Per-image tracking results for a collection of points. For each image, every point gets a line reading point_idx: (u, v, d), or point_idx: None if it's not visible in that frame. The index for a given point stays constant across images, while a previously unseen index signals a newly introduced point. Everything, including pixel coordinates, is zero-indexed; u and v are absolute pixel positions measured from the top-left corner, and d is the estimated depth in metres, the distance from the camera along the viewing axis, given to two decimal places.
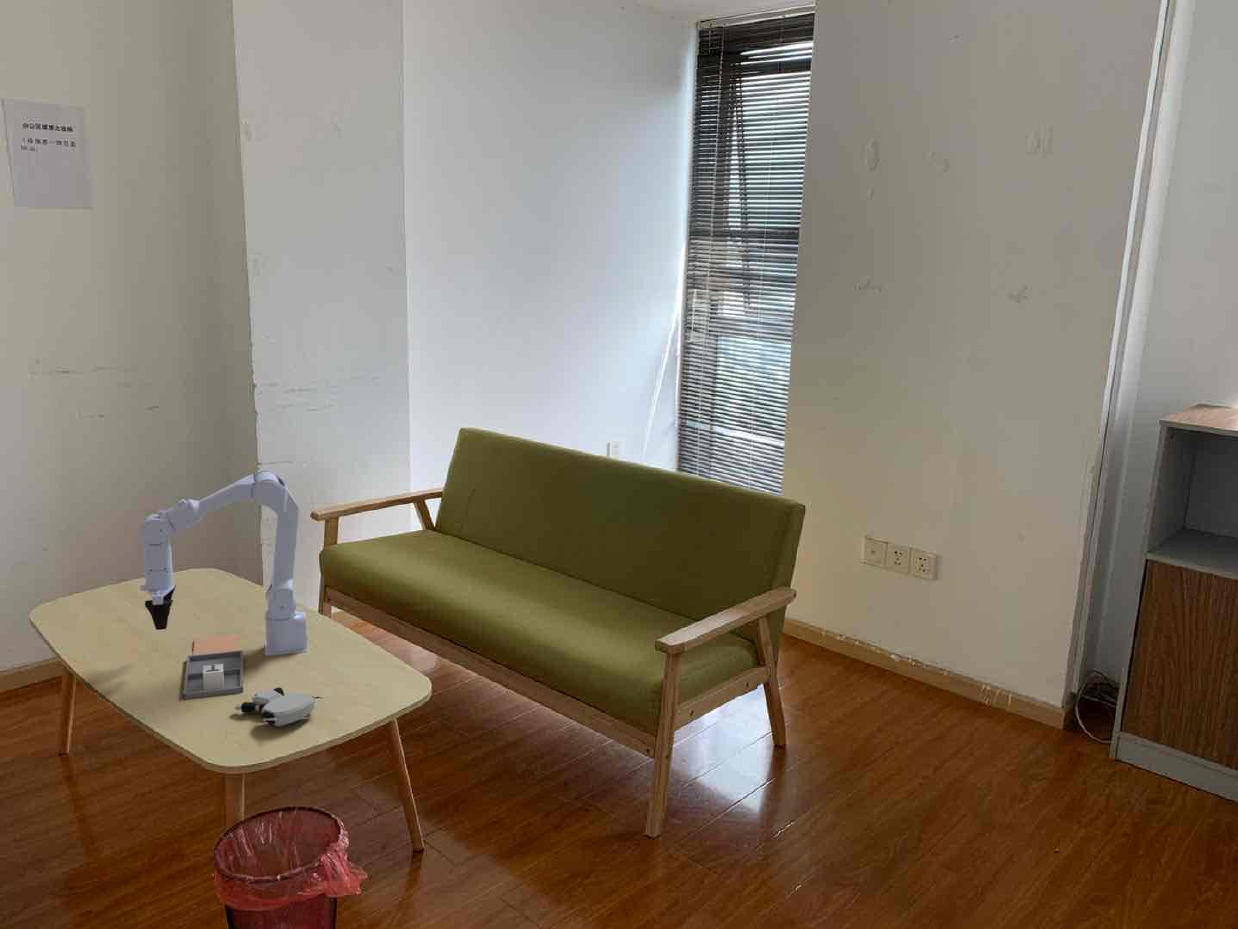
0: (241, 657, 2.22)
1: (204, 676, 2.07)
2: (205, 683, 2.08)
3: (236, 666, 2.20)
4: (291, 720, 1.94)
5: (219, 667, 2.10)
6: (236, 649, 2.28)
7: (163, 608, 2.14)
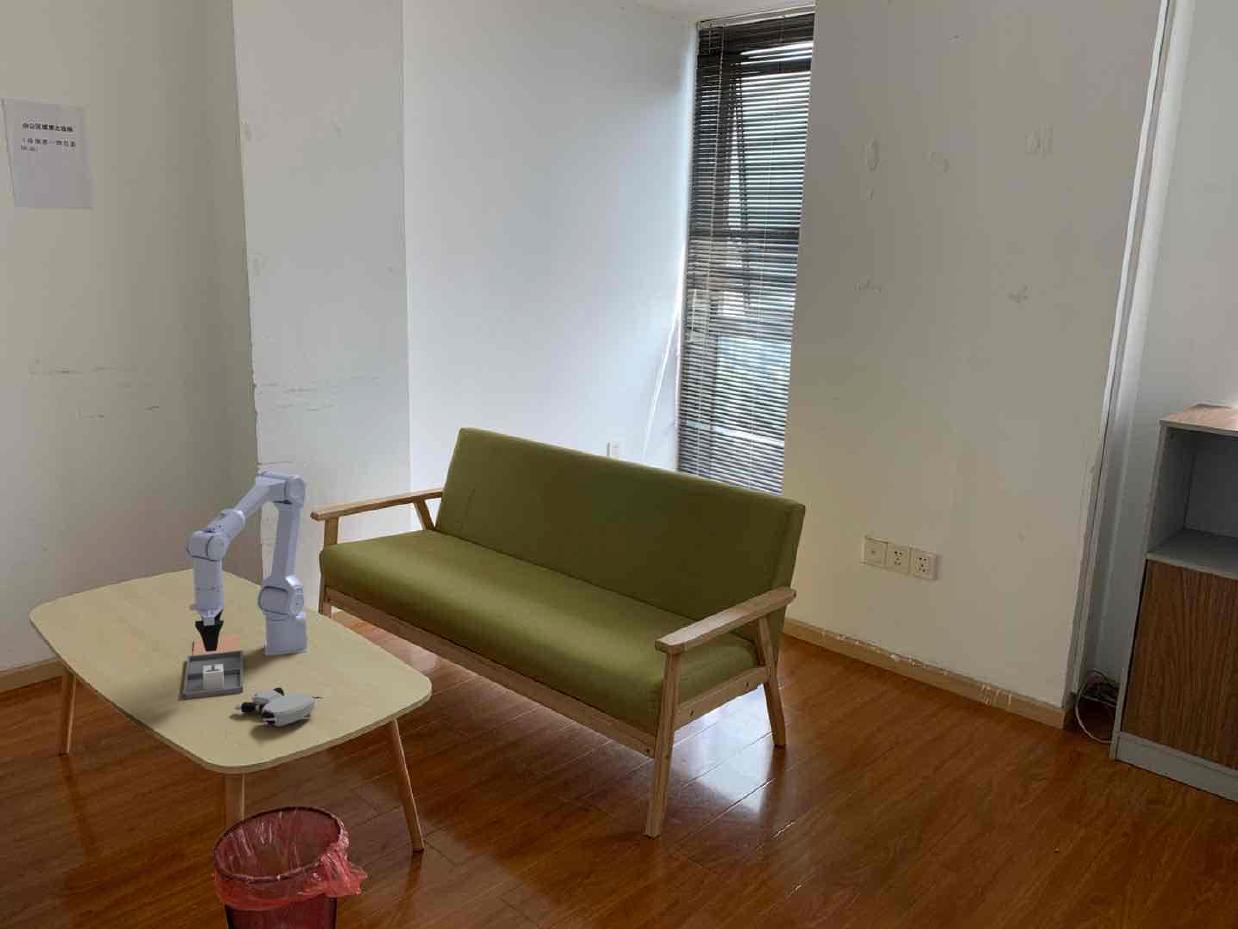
0: (241, 657, 2.22)
1: (204, 676, 2.07)
2: (205, 683, 2.08)
3: (236, 666, 2.20)
4: (291, 720, 1.94)
5: (219, 667, 2.10)
6: (236, 649, 2.28)
7: (213, 629, 2.03)
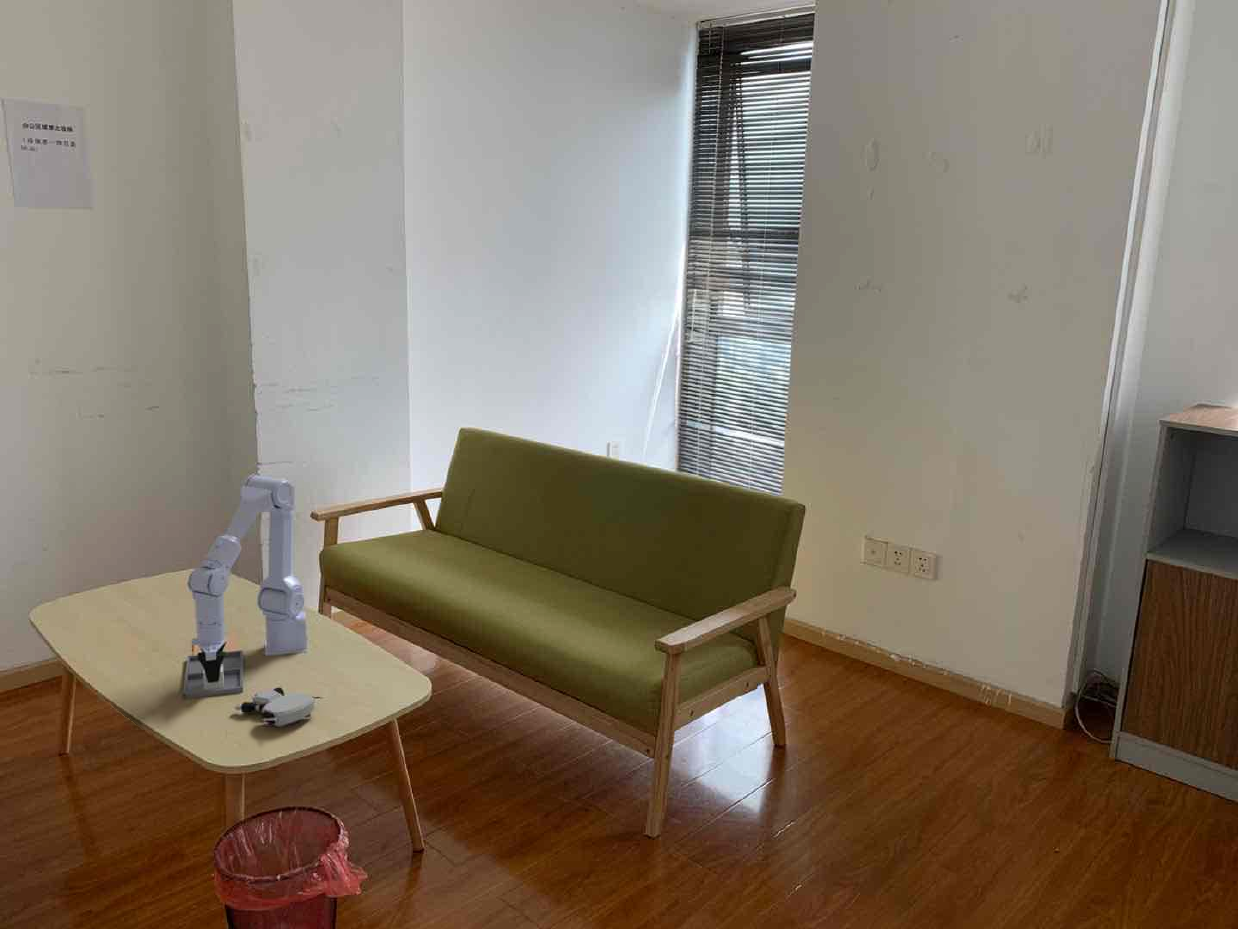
0: (241, 657, 2.22)
1: (204, 676, 2.07)
2: (205, 683, 2.08)
3: (236, 666, 2.20)
4: (291, 720, 1.94)
5: None
6: (236, 649, 2.28)
7: (216, 660, 2.07)
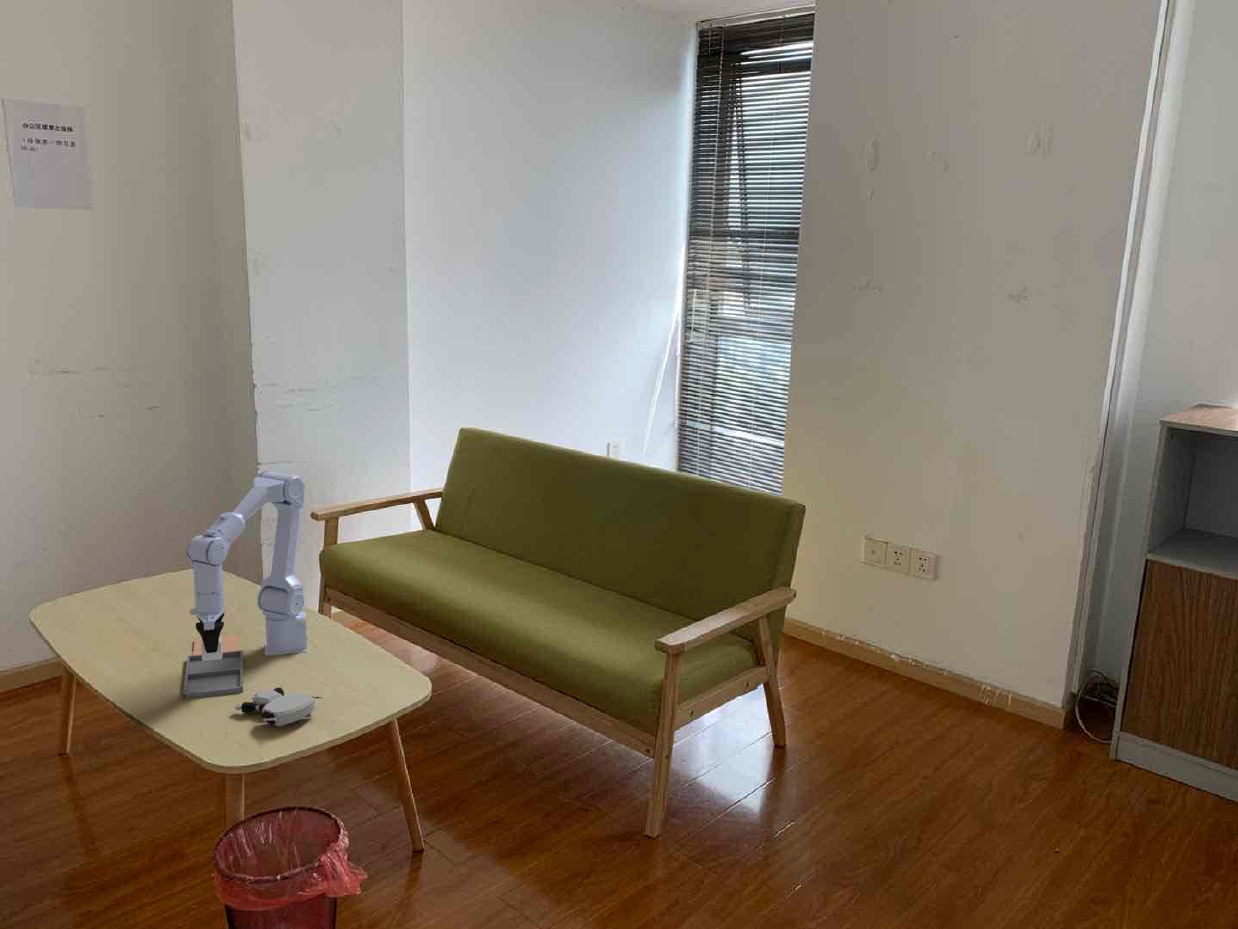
0: (241, 657, 2.22)
1: (202, 646, 2.06)
2: (203, 654, 2.06)
3: (236, 666, 2.20)
4: (291, 720, 1.94)
5: None
6: (236, 649, 2.28)
7: (214, 630, 2.05)
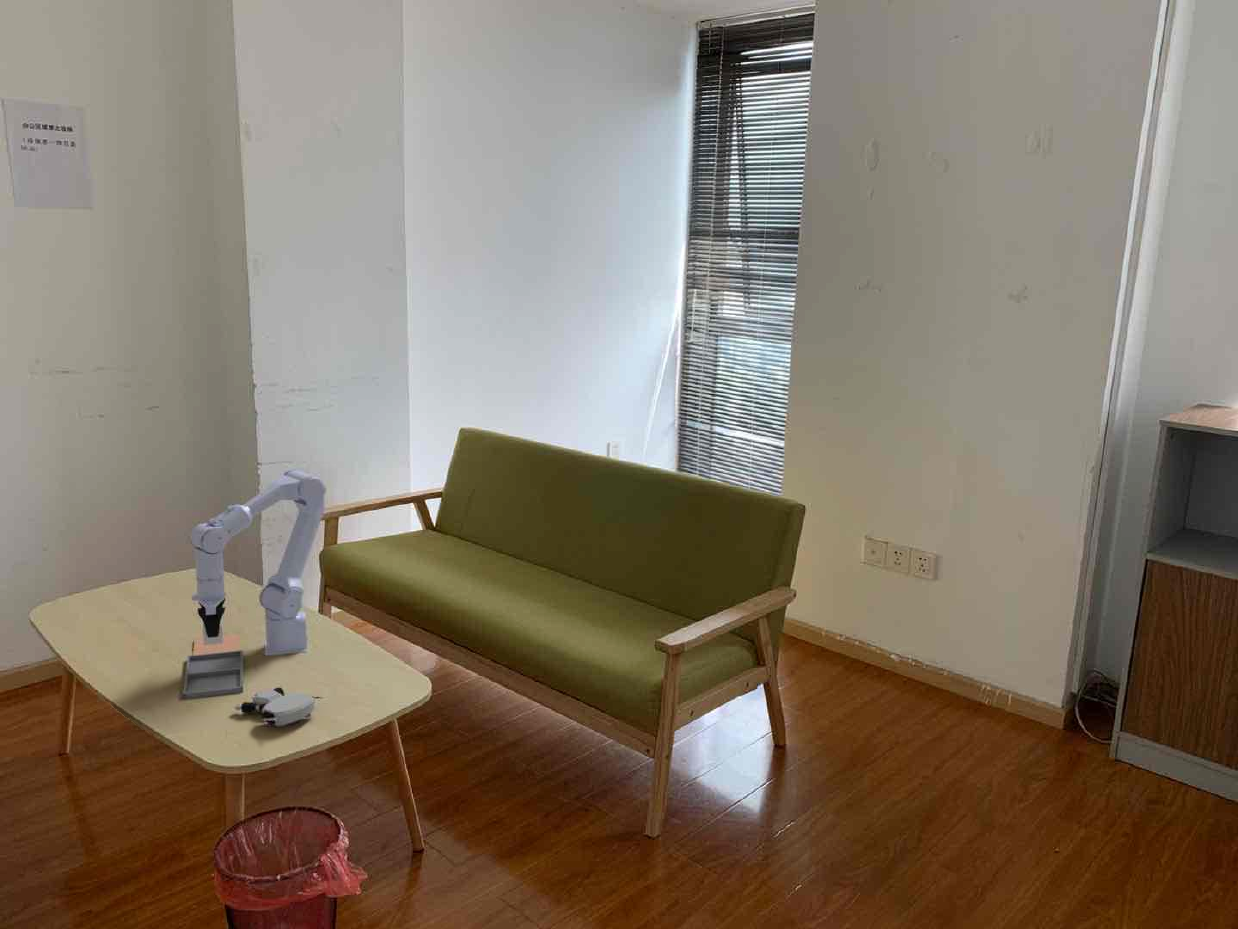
0: (241, 657, 2.22)
1: (204, 631, 2.14)
2: (205, 638, 2.14)
3: (236, 666, 2.20)
4: (291, 720, 1.94)
5: None
6: (236, 649, 2.28)
7: (215, 616, 2.13)
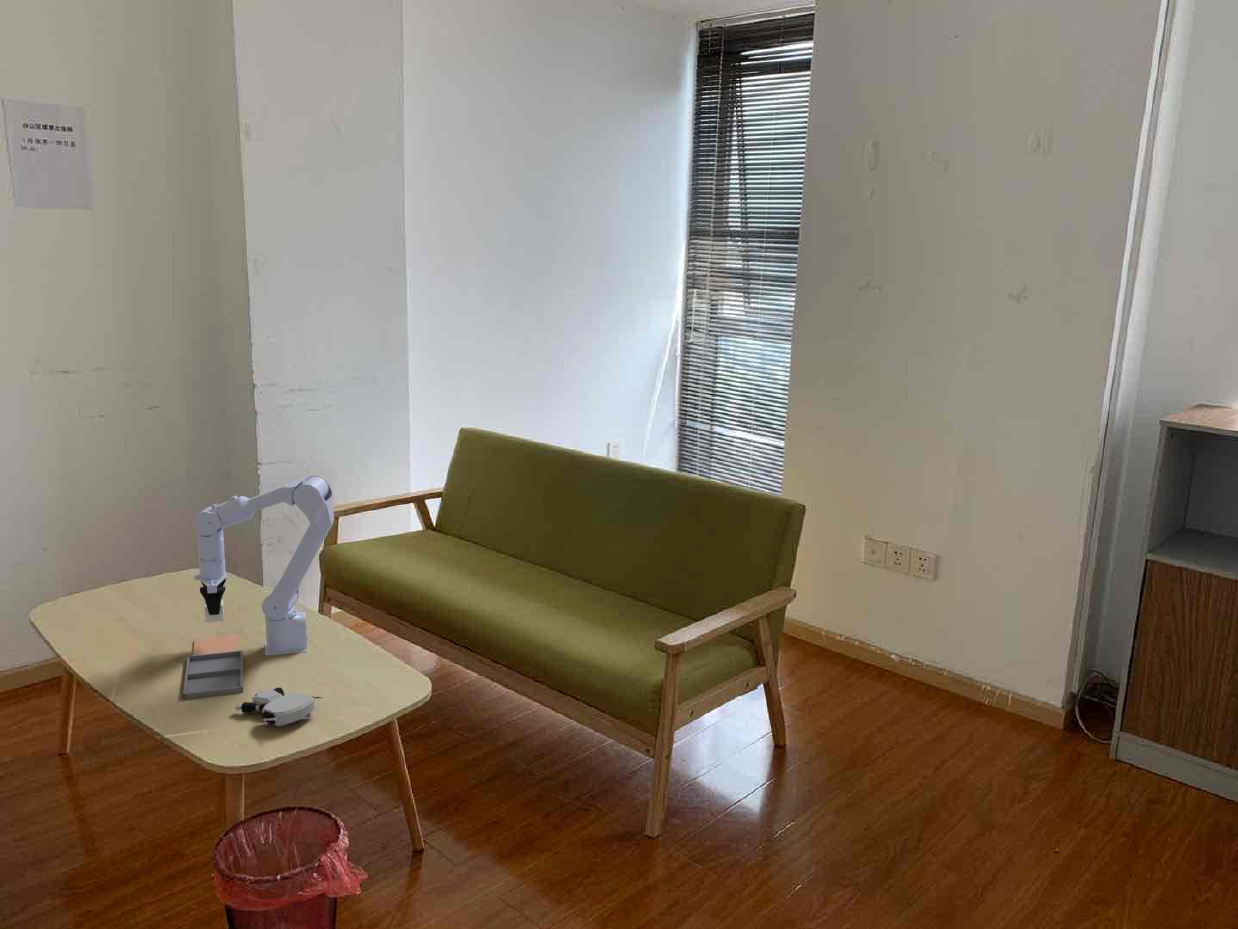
0: (241, 657, 2.22)
1: (206, 609, 2.26)
2: (206, 616, 2.26)
3: (236, 666, 2.20)
4: (291, 720, 1.94)
5: None
6: (236, 649, 2.28)
7: (216, 594, 2.25)
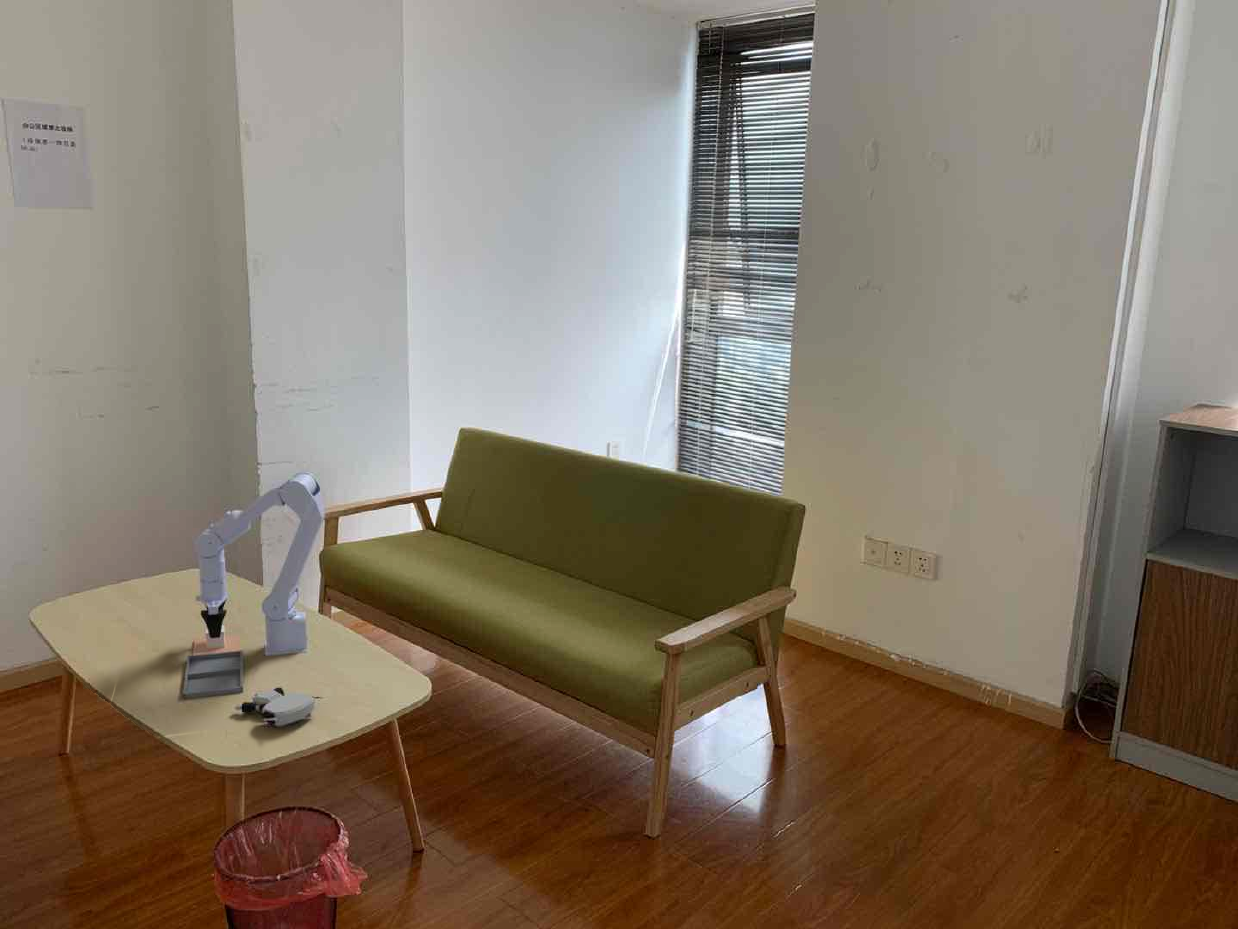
0: (241, 657, 2.22)
1: (207, 635, 2.27)
2: (208, 642, 2.28)
3: (236, 666, 2.20)
4: (291, 720, 1.94)
5: (221, 628, 2.30)
6: (236, 649, 2.28)
7: (217, 618, 2.25)
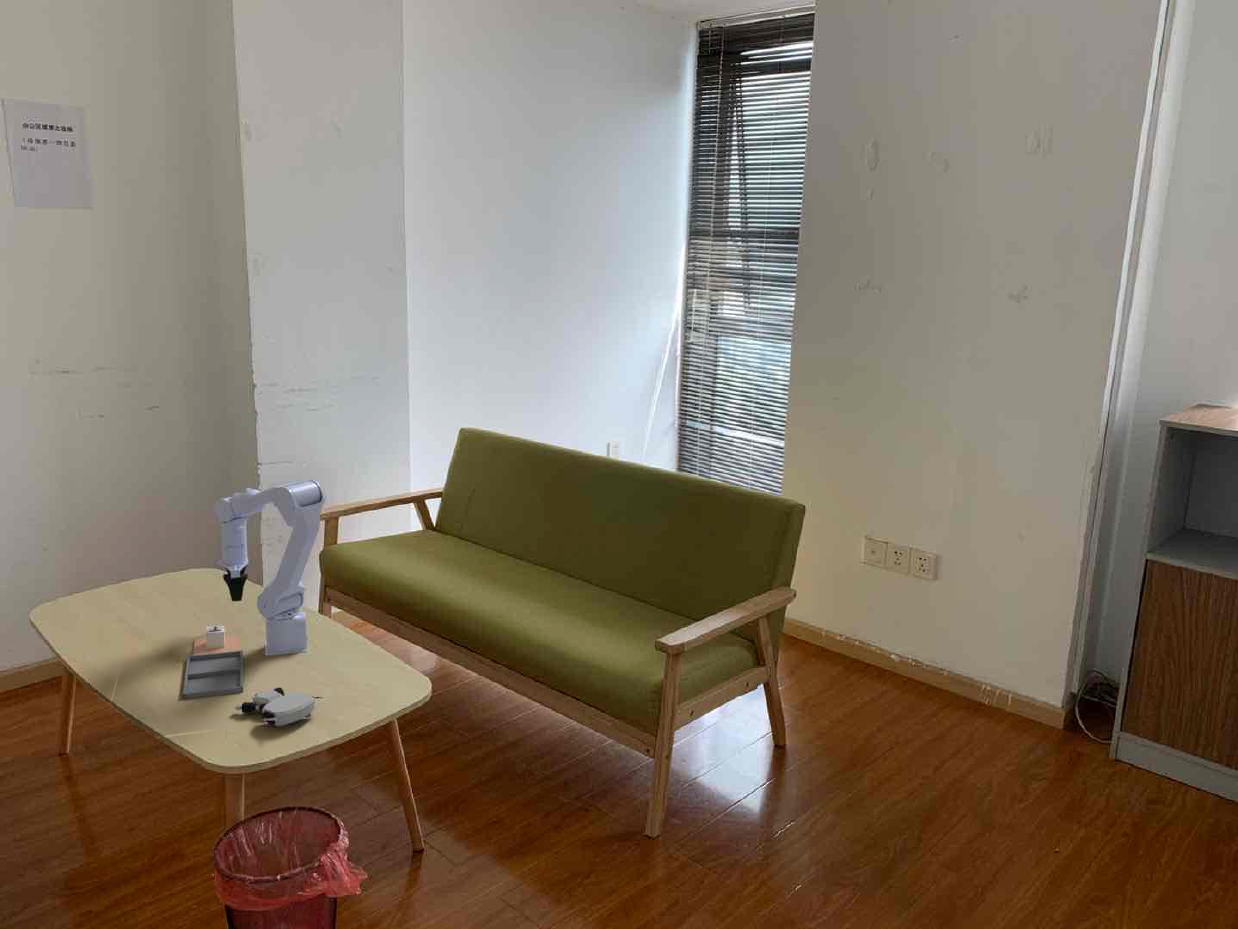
0: (241, 657, 2.22)
1: (207, 635, 2.27)
2: (208, 642, 2.28)
3: (236, 666, 2.20)
4: (291, 720, 1.94)
5: (221, 628, 2.30)
6: (236, 649, 2.28)
7: (239, 581, 2.33)
